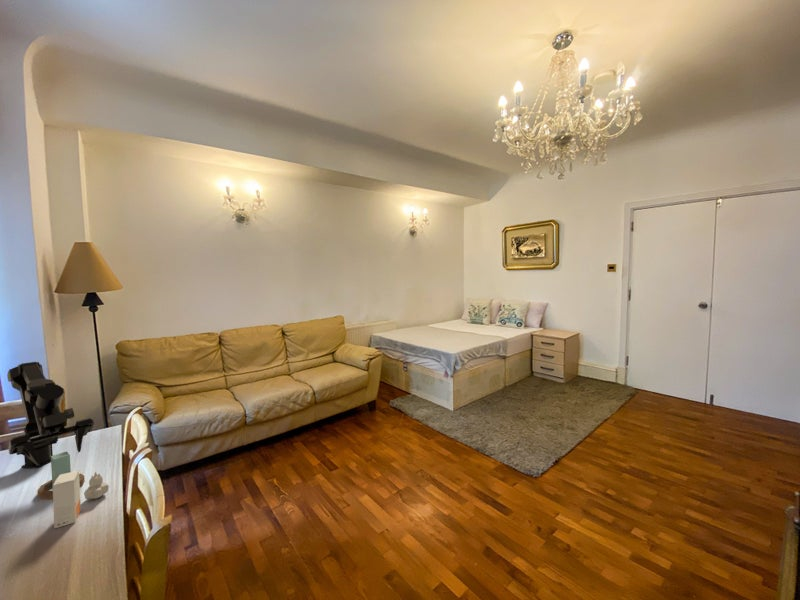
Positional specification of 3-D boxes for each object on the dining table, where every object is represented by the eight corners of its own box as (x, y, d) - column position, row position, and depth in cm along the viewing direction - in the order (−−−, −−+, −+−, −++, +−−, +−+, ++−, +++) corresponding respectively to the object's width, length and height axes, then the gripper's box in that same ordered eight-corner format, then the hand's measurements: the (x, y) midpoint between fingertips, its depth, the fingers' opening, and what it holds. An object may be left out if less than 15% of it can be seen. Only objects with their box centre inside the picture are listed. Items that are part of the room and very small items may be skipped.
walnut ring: (61, 479, 109) (60, 474, 109) (92, 479, 109) (92, 473, 109) (28, 499, 99) (28, 493, 99) (62, 498, 99) (62, 492, 99)
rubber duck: (107, 489, 104) (106, 464, 103) (110, 498, 99) (109, 472, 99) (83, 497, 100) (82, 472, 99) (86, 507, 95) (84, 480, 95)
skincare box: (76, 522, 89) (73, 480, 89) (54, 529, 87) (51, 485, 86) (81, 509, 94) (79, 469, 94) (60, 515, 92) (58, 474, 91)
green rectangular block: (52, 490, 103) (50, 456, 103) (68, 484, 106) (66, 451, 106) (55, 494, 101) (53, 459, 101) (71, 487, 104) (69, 454, 104)
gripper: (7, 412, 98) (17, 459, 92) (90, 394, 113) (103, 433, 108) (4, 431, 102) (13, 477, 97) (84, 411, 118) (96, 450, 113)
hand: (59, 458), depth 104 cm, fingers open, 9 cm apart
